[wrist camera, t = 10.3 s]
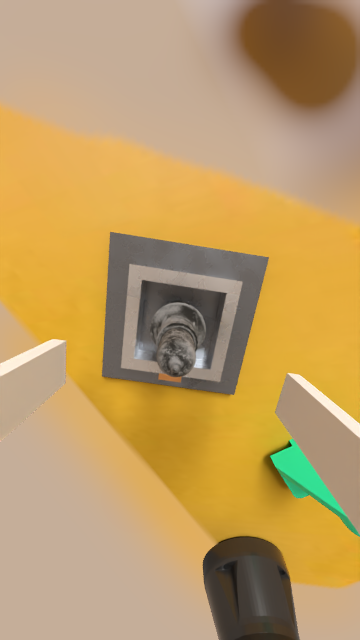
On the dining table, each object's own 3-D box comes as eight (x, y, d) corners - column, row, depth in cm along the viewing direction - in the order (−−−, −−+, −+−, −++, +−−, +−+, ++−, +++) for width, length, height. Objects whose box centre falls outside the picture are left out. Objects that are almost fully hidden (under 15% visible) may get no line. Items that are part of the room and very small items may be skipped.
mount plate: (232, 390, 26) (239, 407, 23) (105, 372, 26) (93, 387, 22) (264, 258, 22) (280, 255, 18) (113, 233, 21) (100, 226, 18)
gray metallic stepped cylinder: (155, 344, 24) (130, 413, 12) (153, 298, 22) (122, 324, 10) (202, 343, 23) (222, 412, 12) (202, 297, 22) (226, 323, 10)
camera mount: (287, 481, 30) (338, 582, 20) (266, 449, 29) (312, 542, 19) (358, 450, 29) (453, 544, 19) (340, 415, 27) (433, 496, 17)
